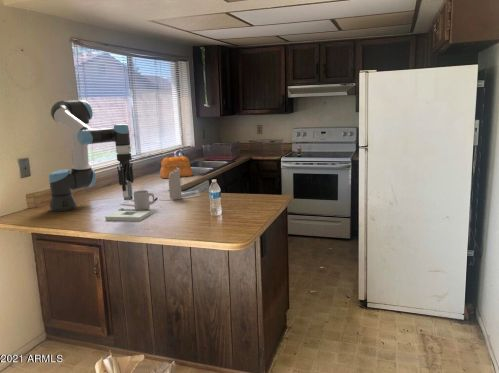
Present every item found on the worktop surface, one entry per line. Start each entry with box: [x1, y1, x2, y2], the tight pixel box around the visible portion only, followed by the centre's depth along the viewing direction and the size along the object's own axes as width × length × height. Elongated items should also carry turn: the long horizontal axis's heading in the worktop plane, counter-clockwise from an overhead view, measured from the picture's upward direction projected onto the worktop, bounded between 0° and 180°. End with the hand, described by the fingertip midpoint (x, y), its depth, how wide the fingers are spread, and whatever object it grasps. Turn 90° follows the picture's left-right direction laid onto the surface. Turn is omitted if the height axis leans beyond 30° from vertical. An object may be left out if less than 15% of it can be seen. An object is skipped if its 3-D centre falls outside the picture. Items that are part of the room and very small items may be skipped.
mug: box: [133, 189, 156, 209], centre depth 248 cm, size 12×8×11 cm
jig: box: [104, 207, 153, 222], centre depth 234 cm, size 20×16×3 cm
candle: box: [159, 168, 183, 201], centre depth 273 cm, size 7×14×20 cm, turn 108°
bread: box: [159, 155, 193, 179], centre depth 361 cm, size 16×26×17 cm, turn 114°
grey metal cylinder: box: [123, 180, 134, 201], centre depth 231 cm, size 5×5×10 cm
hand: (127, 195), depth 232 cm, fingers closed on grey metal cylinder, 5 cm apart
